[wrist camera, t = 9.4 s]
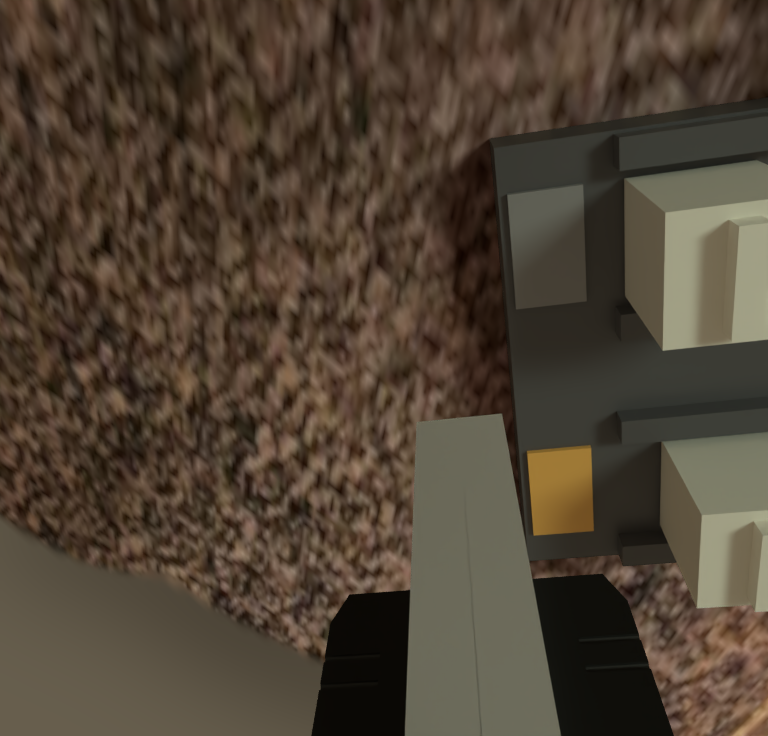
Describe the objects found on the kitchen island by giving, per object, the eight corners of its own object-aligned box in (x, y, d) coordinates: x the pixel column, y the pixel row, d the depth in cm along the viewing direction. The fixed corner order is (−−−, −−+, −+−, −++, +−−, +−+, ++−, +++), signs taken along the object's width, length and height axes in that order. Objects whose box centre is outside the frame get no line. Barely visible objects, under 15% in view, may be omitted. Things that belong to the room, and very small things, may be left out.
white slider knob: (624, 178, 22) (673, 219, 18) (756, 160, 22) (843, 197, 17) (624, 295, 24) (670, 361, 19) (747, 281, 23) (824, 345, 19)
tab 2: (661, 440, 26) (709, 529, 22) (773, 429, 26) (847, 519, 21) (659, 524, 28) (704, 623, 23) (764, 516, 28) (831, 616, 23)
